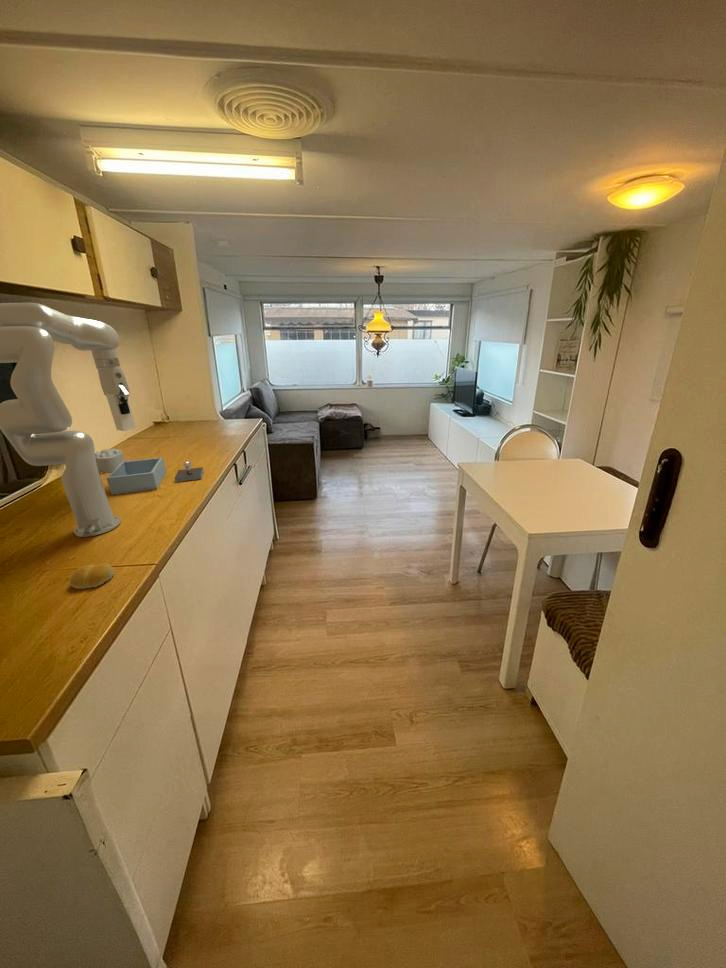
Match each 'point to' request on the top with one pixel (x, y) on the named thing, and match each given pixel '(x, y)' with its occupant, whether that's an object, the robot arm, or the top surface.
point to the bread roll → (91, 576)
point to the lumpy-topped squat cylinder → (108, 460)
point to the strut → (120, 420)
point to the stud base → (189, 473)
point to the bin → (136, 476)
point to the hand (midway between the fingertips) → (121, 412)
